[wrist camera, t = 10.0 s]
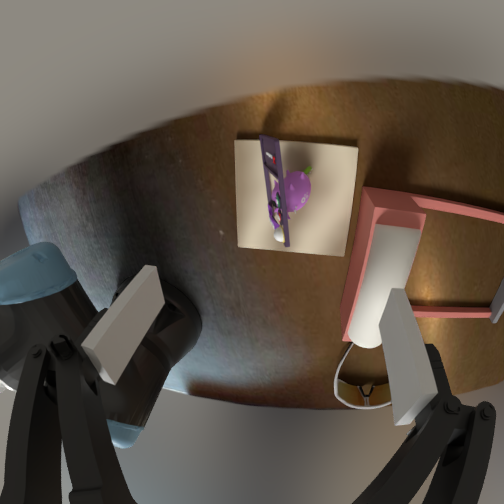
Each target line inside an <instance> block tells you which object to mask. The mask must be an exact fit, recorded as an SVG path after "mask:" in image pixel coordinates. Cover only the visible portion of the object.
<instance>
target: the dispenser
mask: <svg viewBox="0 0 504 504" xmlns="http://www.w3.org/2000/svg"><path fill="white" fill-rule="evenodd" d="M420 207H423V208H429V209H435V210H441V211H446V212H452V213H457V214H462V215H467V216H472V217H477V218H482V219H486V220H491V221H495V222H499V223H504V213H502V212H499V211H495V210H491V209H487V208H483V207H478V206H474V205H470V204H465V203H460V202H456V201H451V200H446V199H441V198H436V197H430V196H425V195H419V194H413V193H407V192H401V191H394V190H387V189H380V188H373V187H365V186H362V194H361V201H360V208H359V215H358V221H357V227H356V233H355V239H354V244H353V250H352V255H351V260H350V265H349V270H348V274H347V279H346V284H345V288H344V292H343V297H342V301H341V305H340V313H341V328H342V341H352V342H354V343H355V344H356V345H358V346H361V347H364V348H374V347H377V346H379V345H380V344H381V343H382V340H381V335H380V330H379V326H378V325H379V322H380V319H381V317H382V314H383V311H384V309H385V306H386V303H387V300H388V297H389V294H390V291H391V288H401V289H405V286H406V283H407V280H408V277H409V274H410V271H411V268H412V265H413V262H414V258H415V255H416V252H417V248H418V245H419V241H420V238H421V234H422V230H423V226H424V222H425V218H426V213H425V212H424V211H423V210H422V209H421V208H420ZM411 308H412V310H413V313H414V316H415V317H434V318H488V317H489V318H490V320H491V322H492V323H496V322H497V321H498V319H499V317H500V315H501V314H502V312H503V310H504V278H503V280H502V282H501V285H500V287H499V289H498V291H497V293H496V295H495V297H494V299H493V301H492V303H491V305H490V307H489V308H484V307H438V306H413V305H411Z"/></svg>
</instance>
